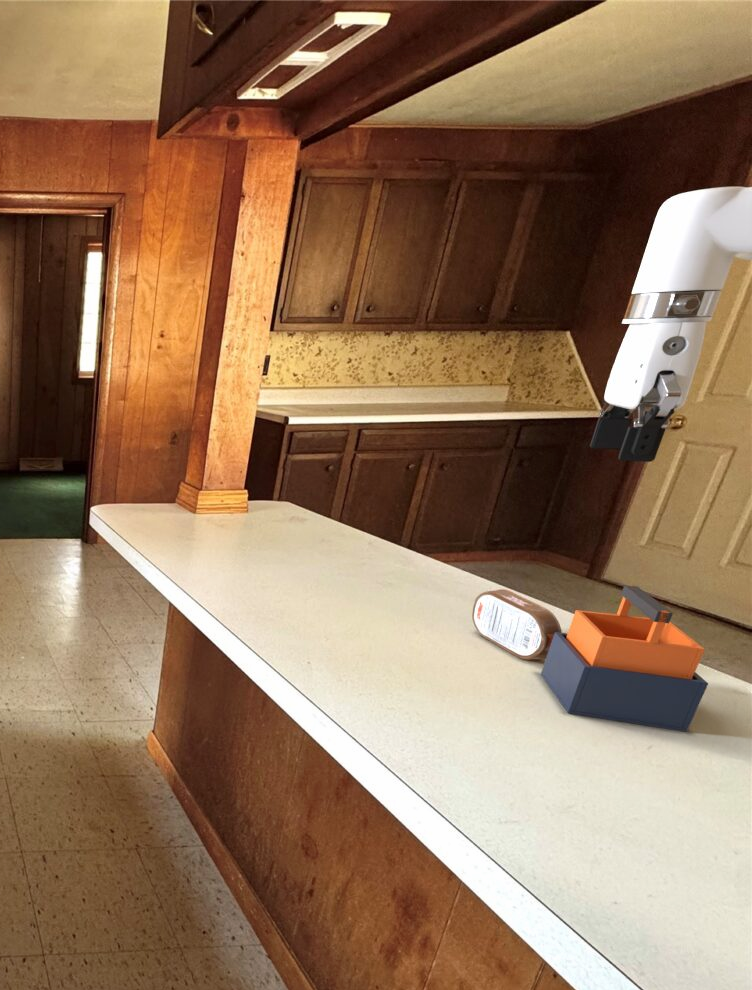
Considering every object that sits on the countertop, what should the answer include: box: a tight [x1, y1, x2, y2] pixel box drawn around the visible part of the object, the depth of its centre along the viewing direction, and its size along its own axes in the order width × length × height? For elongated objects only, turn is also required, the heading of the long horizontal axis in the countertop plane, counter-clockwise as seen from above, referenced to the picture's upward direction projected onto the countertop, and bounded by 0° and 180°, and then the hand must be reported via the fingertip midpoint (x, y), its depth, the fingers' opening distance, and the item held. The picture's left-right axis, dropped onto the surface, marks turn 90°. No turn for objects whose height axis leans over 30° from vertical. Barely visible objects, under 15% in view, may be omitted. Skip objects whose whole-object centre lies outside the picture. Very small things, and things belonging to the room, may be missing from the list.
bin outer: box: [540, 632, 709, 733], centre depth 89 cm, size 12×12×7 cm
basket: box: [566, 584, 706, 679], centre depth 87 cm, size 10×10×15 cm
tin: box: [471, 588, 563, 661], centre depth 105 cm, size 15×3×8 cm, turn 179°
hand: (619, 454), depth 85 cm, fingers open, 9 cm apart
